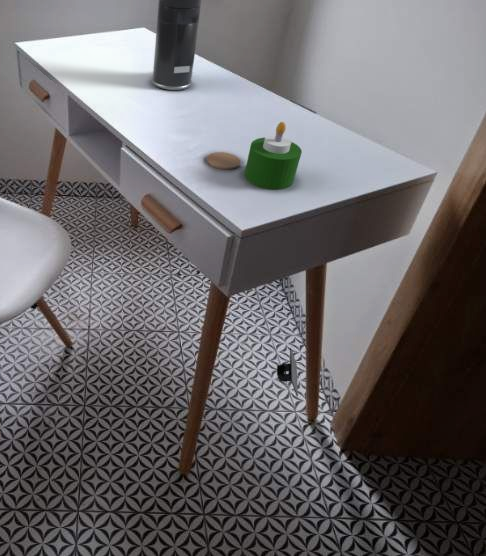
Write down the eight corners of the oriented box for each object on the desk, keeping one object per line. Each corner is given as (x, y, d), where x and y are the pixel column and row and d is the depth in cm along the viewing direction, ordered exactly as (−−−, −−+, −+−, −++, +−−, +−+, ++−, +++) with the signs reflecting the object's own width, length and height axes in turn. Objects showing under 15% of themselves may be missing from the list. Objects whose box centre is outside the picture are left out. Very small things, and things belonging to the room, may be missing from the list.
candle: (235, 169, 91) (246, 114, 84) (275, 163, 93) (289, 109, 87) (260, 192, 85) (274, 135, 78) (303, 185, 87) (320, 129, 81)
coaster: (203, 154, 95) (203, 152, 95) (234, 153, 96) (235, 151, 95) (211, 169, 90) (211, 167, 90) (244, 169, 91) (244, 167, 91)
